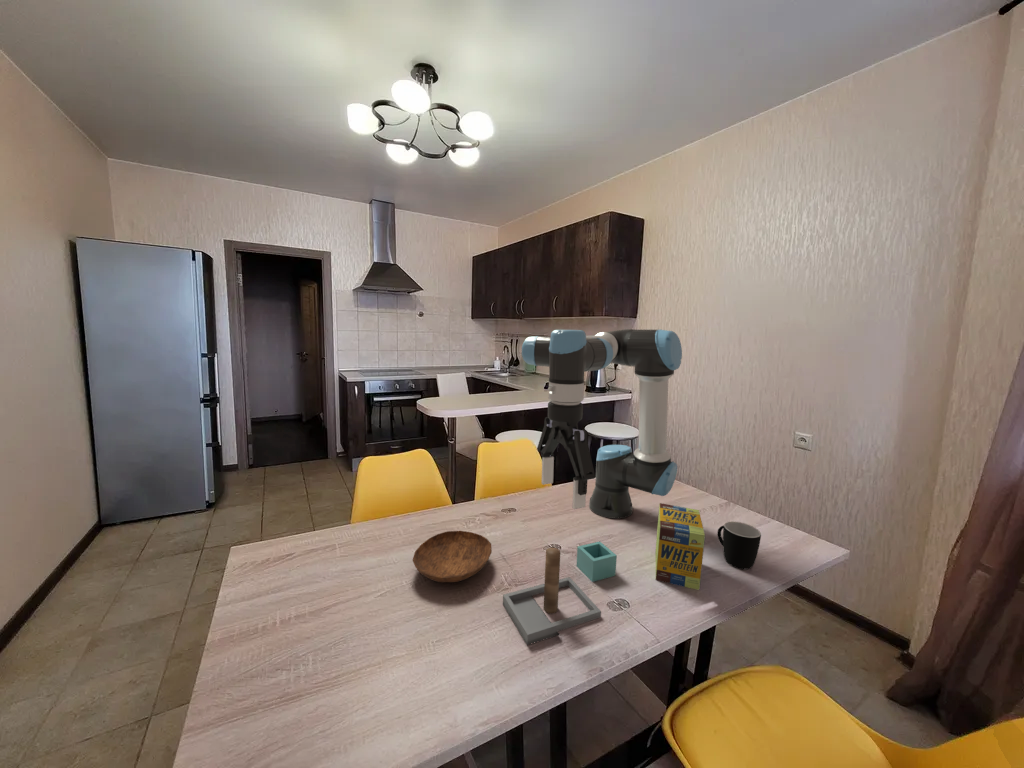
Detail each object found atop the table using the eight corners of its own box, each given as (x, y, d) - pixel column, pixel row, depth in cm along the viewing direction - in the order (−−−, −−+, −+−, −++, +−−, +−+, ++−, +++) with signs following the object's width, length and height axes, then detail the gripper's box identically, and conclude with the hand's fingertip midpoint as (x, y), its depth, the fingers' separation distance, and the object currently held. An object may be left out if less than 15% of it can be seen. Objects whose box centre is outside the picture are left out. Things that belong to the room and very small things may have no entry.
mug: (764, 569, 108) (769, 534, 106) (739, 575, 105) (743, 539, 103) (728, 546, 119) (731, 514, 118) (704, 550, 116) (708, 518, 115)
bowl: (502, 554, 112) (502, 538, 111) (469, 604, 91) (469, 585, 90) (441, 540, 118) (441, 525, 117) (397, 585, 97) (396, 566, 97)
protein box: (654, 584, 100) (659, 526, 98) (655, 552, 115) (659, 502, 112) (699, 594, 97) (705, 535, 95) (694, 560, 111) (699, 508, 109)
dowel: (541, 606, 90) (543, 549, 88) (553, 602, 91) (555, 546, 89) (547, 615, 87) (550, 557, 85) (560, 611, 88) (563, 554, 86)
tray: (502, 604, 91) (503, 594, 91) (569, 585, 99) (569, 576, 98) (527, 645, 80) (527, 634, 79) (600, 621, 87) (601, 611, 87)
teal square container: (576, 569, 105) (577, 546, 104) (598, 563, 108) (599, 541, 107) (591, 585, 99) (593, 561, 98) (615, 579, 102) (616, 555, 101)
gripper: (524, 393, 95) (523, 477, 98) (583, 415, 72) (578, 523, 75) (552, 391, 98) (549, 472, 101) (616, 412, 75) (610, 516, 78)
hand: (562, 494), depth 88 cm, fingers open, 13 cm apart
